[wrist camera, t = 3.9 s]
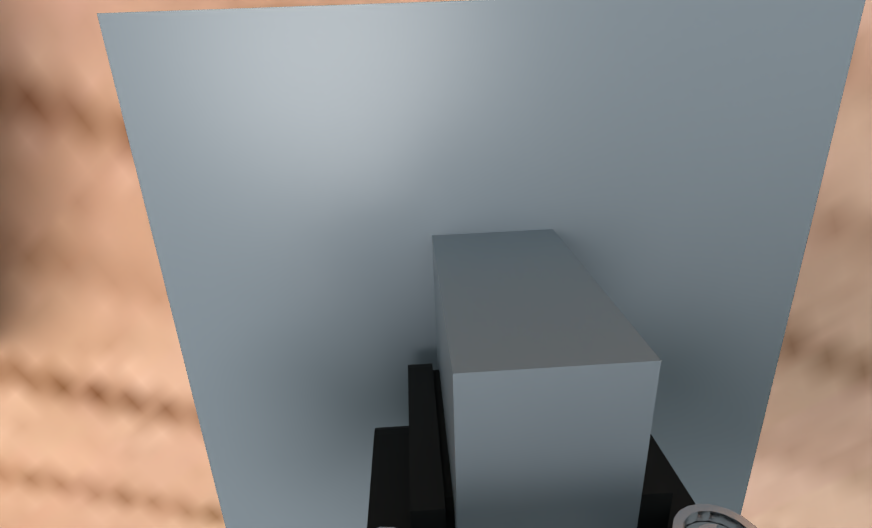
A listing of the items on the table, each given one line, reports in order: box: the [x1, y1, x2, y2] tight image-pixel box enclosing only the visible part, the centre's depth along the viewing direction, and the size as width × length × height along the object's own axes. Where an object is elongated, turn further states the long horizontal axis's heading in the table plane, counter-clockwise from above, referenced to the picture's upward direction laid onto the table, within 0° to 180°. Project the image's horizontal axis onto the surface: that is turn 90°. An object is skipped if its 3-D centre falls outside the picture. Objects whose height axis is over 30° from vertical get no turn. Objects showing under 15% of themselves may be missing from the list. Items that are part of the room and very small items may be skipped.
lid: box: [97, 0, 865, 528], centre depth 11 cm, size 17×14×7 cm
